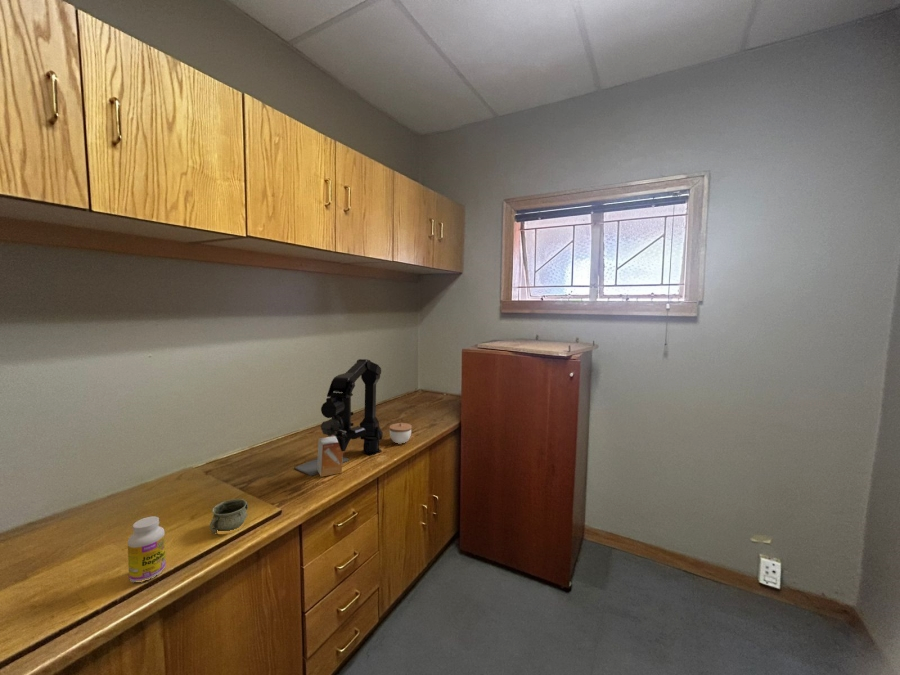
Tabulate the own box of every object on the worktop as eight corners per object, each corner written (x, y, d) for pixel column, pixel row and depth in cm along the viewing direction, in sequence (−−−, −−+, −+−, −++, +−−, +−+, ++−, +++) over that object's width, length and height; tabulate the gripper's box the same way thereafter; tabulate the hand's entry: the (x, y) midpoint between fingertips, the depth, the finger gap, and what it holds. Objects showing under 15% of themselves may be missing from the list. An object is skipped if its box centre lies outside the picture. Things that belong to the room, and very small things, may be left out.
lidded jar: (402, 447, 165) (402, 428, 165) (384, 443, 171) (384, 423, 170) (415, 440, 175) (416, 422, 174) (399, 436, 180) (399, 418, 180)
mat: (332, 454, 157) (332, 452, 157) (348, 460, 150) (348, 458, 150) (294, 468, 142) (294, 467, 142) (311, 476, 136) (311, 474, 136)
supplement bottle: (140, 588, 80) (137, 533, 79) (122, 579, 83) (119, 526, 82) (172, 568, 86) (170, 517, 85) (155, 561, 89) (153, 511, 88)
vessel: (222, 542, 96) (221, 520, 96) (198, 536, 99) (198, 514, 99) (259, 518, 108) (258, 498, 107) (236, 513, 110) (236, 493, 110)
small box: (320, 477, 134) (322, 444, 132) (316, 469, 139) (318, 438, 138) (342, 473, 139) (344, 441, 137) (337, 465, 144) (339, 435, 142)
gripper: (308, 410, 131) (309, 452, 132) (342, 420, 121) (342, 464, 122) (333, 404, 140) (333, 443, 141) (366, 412, 130) (366, 454, 131)
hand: (343, 451), depth 134 cm, fingers closed
